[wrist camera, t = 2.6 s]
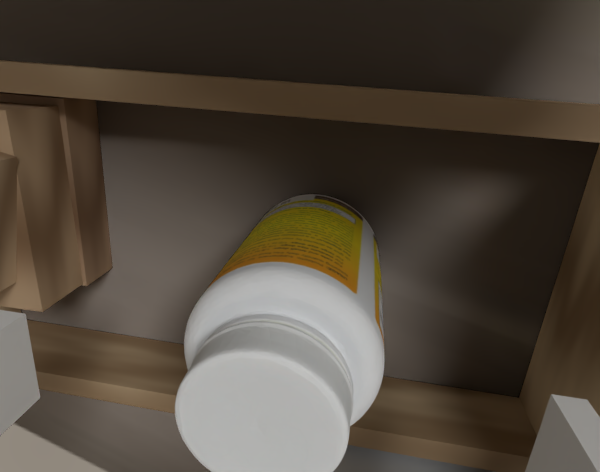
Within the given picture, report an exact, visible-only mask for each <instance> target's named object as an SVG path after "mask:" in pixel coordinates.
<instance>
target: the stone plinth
mask: <svg viewBox="0 0 600 472" xmlns="http://www.w3.org/2000/svg"><path fill="white" fill-rule="evenodd" d="M333 472H496V471H490V470H485V469H479V468H474V467H468V466H463V465H457V464H451V463H446V462H440V461H435V460H429V459H424V458H418V457H413V456H407V455H402V454H396V453H391V452H385V451H380V450H374V449H368V448H363V447H357V446H352V445H347V449H346V452H345V454H344V456H343V458H342V460H341V462H340V464H339V465H338V466H337V468H336V469H335V470H334V471H333Z"/></svg>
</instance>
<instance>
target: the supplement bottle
mask: <svg viewBox="0 0 600 472" xmlns="http://www.w3.org/2000/svg"><path fill="white" fill-rule="evenodd" d="M184 354H185V360H186V365H187V369H188V372H187V373H186V375H185V377H184V378H183V380H182V382H181V384H180V386H179V388H178V391H177V395H176V400H175V418H176V423H177V426H178V429H179V432H180V435H181V437H182V439H183V441H184V442H185V444H186V446H187V447H188V449H189V450H190V451H191V453H192V454H193V455H194V456H195V458H196V459H197V460H198V461H199V462H200V463H201V464H202V465H203V466H205V467H206V468H207V469H208V470H210V471H211V472H333V471H334V470H335V469H336V468H337V466H338V465H339V464H340V462H341V460H342V458H343V456H344V454H345V452H346V449H347V445H348V441H349V433H350V426H351V425H353V424H354V423H356V422H357V421H358V420H359V419H360V418H361V417H362V416H363V415H364V414H365V413H366V412H367V410H368V409H369V408H370V406H371V405H372V403H373V402H374V400H375V398H376V396H377V394H378V392H379V389H380V386H381V383H382V379H383V373H384V361H385V351H384V329H383V309H382V287H381V270H380V255H379V248H378V243H377V240H376V237H375V234H374V232H373V230H372V228H371V227H370V225H369V223H368V222H367V221H366V220H365V218H364V217H363V216H362V215H361V214H360V213H359V212H358V211H357V210H355V209H354V208H353V207H351V206H350V205H348V204H347V203H345V202H343V201H341V200H339V199H336V198H333V197H330V196H326V195H319V194H306V195H299V196H295V197H292V198H289V199H287V200H285V201H282V202H281V203H279V204H277V205H276V206H274V207H273V208H272V209H271V210H270V211H268V212H267V213H266V214H265V215H264V217H263V218H262V219H261V220H260V221H259V223H258V224H257V225H256V227H255V228H254V229H253V230H252V232H251V233H250V234H249V236H248V237H247V238H246V239H245V241H244V242H243V243H242V244H241V246H240V247H239V248H238V249H237V251H236V252H235V253H234V254H233V256H232V257H231V258H230V260H229V261H228V262H227V263H226V265H225V266H224V267H223V269H222V270H221V271H220V273H219V274H218V275H217V276H216V278H215V279H214V280H213V282H212V283H211V284H210V285H209V287H208V288H207V289H206V290H205V292H204V293H203V294H202V296H201V297H200V299H199V300H198V302H197V303H196V305H195V306H194V308H193V310H192V312H191V315H190V317H189V319H188V322H187V326H186V330H185V337H184Z"/></svg>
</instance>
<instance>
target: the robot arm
mask: <svg viewBox="0 0 600 472" xmlns="http://www.w3.org/2000/svg"><path fill="white" fill-rule="evenodd" d="M39 399H40V393H39V387H38V381H37V376H36V370H35V364H34V359H33V353H32V347H31V342H30V336H29V330H28V324H27V319H26V314H24V313H18V312H11V311H5V310H0V436H1V435H2V433H4V432H5V431H6V430H7V429H8V428H9V427H10V426H11V425H12V424H13V423H14V422H15V421H16V420H17V419H19V418H20V417H21V416H22V415H23V414H24V413H25V412H26V411H27V410H28V409H29V408H30V407H31V406H32V405H33V404H34V403H35V402H37V401H38V400H39ZM525 472H600V417H599V416H598V414H597V413H596V411H595V410H594V408H593V407H592V406H591V404H590V403H589V401H588V400H586V399H580V398H573V397H567V396H560V395H554V394H551V396H550V399H549V402H548V405H547V408H546V411H545V414H544V417H543V420H542V423H541V426H540V429H539V432H538V435H537V438H536V440H535V443H534V446H533V449H532V452H531V455H530V458H529V461H528V464H527V467H526V470H525Z"/></svg>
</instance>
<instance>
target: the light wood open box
mask: <svg viewBox="0 0 600 472" xmlns="http://www.w3.org/2000/svg"><path fill="white" fill-rule="evenodd" d="M0 92H7V93H19V94H31V95H43V96H54V97H66V98H78V99H90V100H102V101H114V102H125V103H137V104H149V105H161V106H173V107H184V108H196V109H208V110H220V111H232V112H244V113H255V114H267V115H279V116H291V117H303V118H314V119H326V120H338V121H350V122H362V123H374V124H385V125H397V126H409V127H421V128H433V129H444V130H456V131H468V132H480V133H492V134H504V135H515V136H527V137H539V138H551V139H563V140H574V141H586V142H598V143H599V146H598V150H597V153H596V156H595V159H594V162H593V165H592V169H591V172H590V175H589V178H588V181H587V184H586V188H585V191H584V194H583V197H582V200H581V203H580V206H579V210H578V213H577V216H576V219H575V222H574V225H573V229H572V232H571V235H570V238H569V241H568V244H567V248H566V251H565V254H564V257H563V260H562V263H561V266H560V270H559V273H558V276H557V279H556V282H555V285H554V289H553V292H552V295H551V298H550V301H549V304H548V308H547V311H546V314H545V317H544V320H543V323H542V326H541V330H540V333H539V336H538V339H537V342H536V345H535V349H534V352H533V355H532V358H531V361H530V364H529V368H528V371H527V374H526V377H525V380H524V383H523V386H522V390H521V393H520V396H519V398H517V397H511V396H505V395H499V394H492V393H486V392H480V391H473V390H467V389H461V388H454V387H448V386H442V385H435V384H429V383H423V382H417V381H410V380H404V379H398V378H391V377H385V376H383V379H382V383H381V386H380V389H379V392H378V394H377V396H376V398H375V400H374V402H373V403H372V405H371V406H370V408H369V409H368V410H367V412H366V413H365V414H364V415H363V416H362V417H361V418H360V419H359V420H358V421H357V422H356V423H354V424H353V425H351V426H350V433H349V441H348V445H352V446H357V447H363V448H368V449H374V450H380V451H385V452H391V453H396V454H402V455H407V456H413V457H418V458H424V459H429V460H435V461H440V462H446V463H451V464H457V465H463V466H468V467H474V468H479V469H485V470H490V471H496V472H525V470H526V467H527V464H528V461H529V458H530V455H531V452H532V449H533V446H534V443H535V440H536V438H537V435H538V432H539V429H540V426H541V423H542V420H543V417H544V414H545V411H546V408H547V405H548V402H549V399H550V396H551V394H554V395H560V396H567V397H573V398H580V399H586V400H588V401H589V403H590V404H591V406H592V407H593V408H594V410H595V411H596V413H597V414H598V416H599V417H600V104H587V103H574V102H560V101H547V100H533V99H520V98H506V97H493V96H479V95H466V94H452V93H439V92H425V91H412V90H398V89H385V88H371V87H358V86H344V85H331V84H317V83H304V82H290V81H277V80H263V79H250V78H236V77H223V76H209V75H196V74H182V73H169V72H155V71H142V70H128V69H115V68H101V67H88V66H74V65H61V64H47V63H34V62H20V61H7V60H0ZM0 310H5V311H11V312H18V313H21V309H18V308H11V307H4V306H0ZM27 324H28V330H29V336H30V342H31V347H32V353H33V359H34V364H35V370H36V376H37V381H38V387H39V389H42V390H47V391H53V392H59V393H64V394H70V395H75V396H81V397H86V398H92V399H97V400H103V401H108V402H114V403H119V404H125V405H130V406H136V407H142V408H147V409H153V410H158V411H164V412H169V413H175V400H176V395H177V391H178V388H179V386H180V384H181V382H182V380H183V378H184V377H185V375H186V373H187V372H188V369H187V365H186V360H185V354H184V345H183V344H177V343H171V342H164V341H158V340H152V339H146V338H139V337H133V336H127V335H120V334H114V333H108V332H101V331H95V330H89V329H83V328H76V327H70V326H64V325H57V324H51V323H45V322H38V321H32V320H27Z"/></svg>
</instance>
